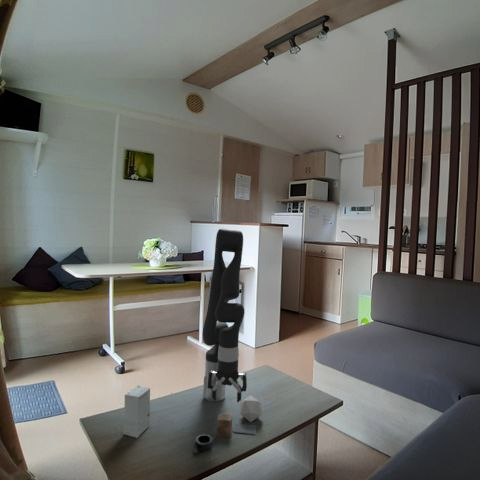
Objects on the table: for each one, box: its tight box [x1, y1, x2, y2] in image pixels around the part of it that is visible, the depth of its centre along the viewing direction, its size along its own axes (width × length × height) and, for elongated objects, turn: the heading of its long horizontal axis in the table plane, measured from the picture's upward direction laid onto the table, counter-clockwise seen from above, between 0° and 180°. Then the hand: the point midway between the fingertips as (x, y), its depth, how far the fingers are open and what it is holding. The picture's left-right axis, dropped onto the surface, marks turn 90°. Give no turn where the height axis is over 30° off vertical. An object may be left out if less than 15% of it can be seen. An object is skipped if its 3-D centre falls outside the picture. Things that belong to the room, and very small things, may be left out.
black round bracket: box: [192, 433, 215, 455], centre depth 121 cm, size 8×10×3 cm
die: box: [239, 394, 263, 423], centre depth 139 cm, size 8×9×10 cm
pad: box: [233, 423, 257, 435], centre depth 131 cm, size 8×5×1 cm, turn 85°
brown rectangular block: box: [216, 413, 233, 437], centre depth 129 cm, size 5×4×6 cm
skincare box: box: [123, 385, 151, 439], centre depth 128 cm, size 8×6×15 cm
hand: (226, 400), depth 128 cm, fingers open, 8 cm apart
